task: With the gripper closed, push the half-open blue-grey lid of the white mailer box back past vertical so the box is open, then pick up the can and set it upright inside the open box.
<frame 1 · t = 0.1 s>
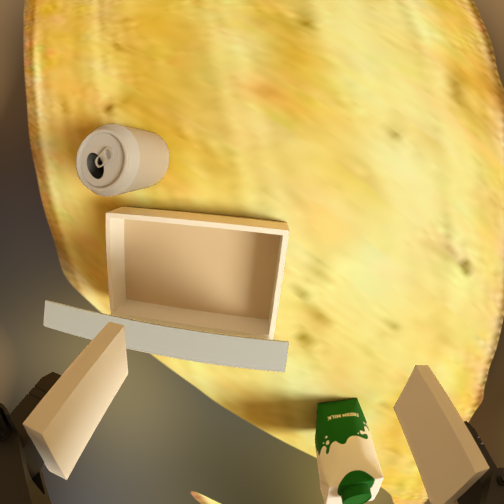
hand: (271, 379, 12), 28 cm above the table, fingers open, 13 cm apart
milk carton: (336, 413, 48), on the table
lid: (171, 329, 30), point 12 cm above the table, hinge at 65.0°
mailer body: (197, 264, 41), on the table
can: (145, 159, 37), on the table
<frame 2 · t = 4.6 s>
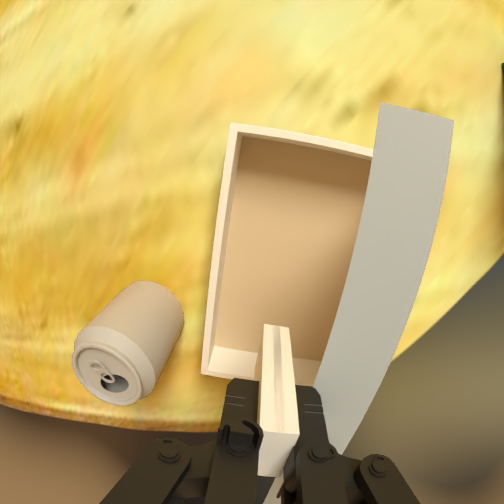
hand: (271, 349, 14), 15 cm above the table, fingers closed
lid: (361, 330, 17), point 12 cm above the table, hinge at 66.8°, touching gripper
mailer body: (294, 260, 29), on the table
can: (153, 309, 31), on the table
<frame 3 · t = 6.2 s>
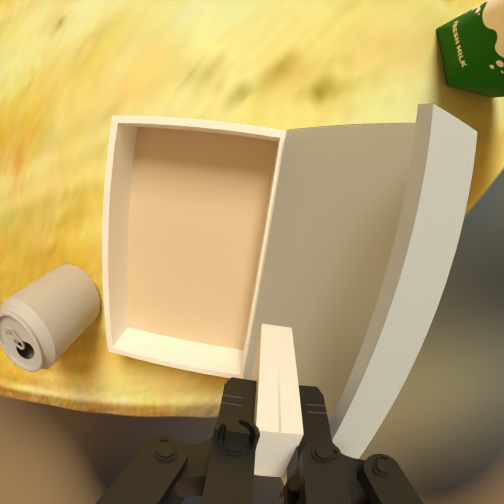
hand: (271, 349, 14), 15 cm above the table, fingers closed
milk carton: (465, 63, 22), on the table
lid: (292, 328, 17), point 13 cm above the table, hinge at 108.4°, touching gripper
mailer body: (192, 243, 29), on the table
can: (78, 291, 31), on the table
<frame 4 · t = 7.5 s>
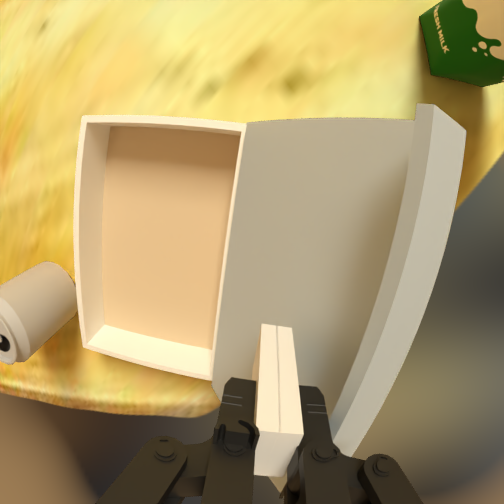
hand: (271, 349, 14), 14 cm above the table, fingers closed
milk carton: (452, 52, 21), on the table
lid: (267, 328, 16), point 12 cm above the table, hinge at 120.7°, touching gripper
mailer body: (163, 241, 28), on the table
can: (59, 288, 31), on the table
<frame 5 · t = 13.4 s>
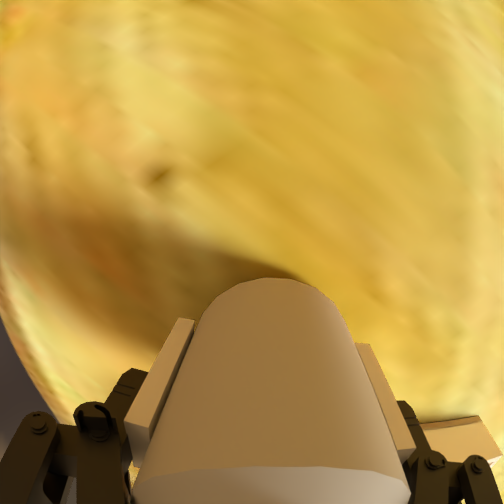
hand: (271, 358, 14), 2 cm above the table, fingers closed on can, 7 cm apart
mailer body: (336, 477, 19), on the table
can: (271, 336, 15), on the table, touching gripper
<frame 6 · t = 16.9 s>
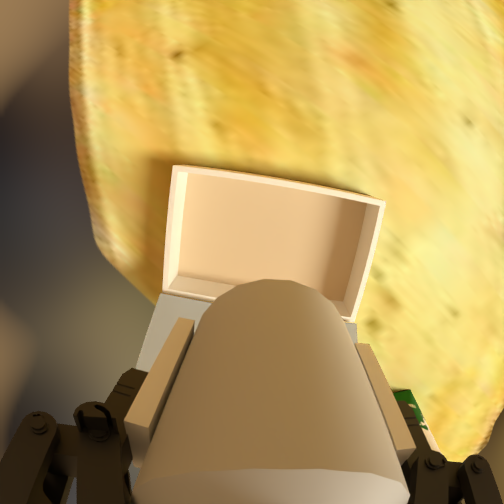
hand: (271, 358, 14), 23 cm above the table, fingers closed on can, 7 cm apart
milk carton: (387, 406, 43), on the table
lid: (251, 373, 27), point 12 cm above the table, hinge at 120.8°
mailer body: (270, 237, 36), on the table
can: (271, 338, 15), point 22 cm above the table, touching gripper
when the fingers open (5 cm above the table, at t = 20.5 s): can drops 3 cm, resting on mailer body.
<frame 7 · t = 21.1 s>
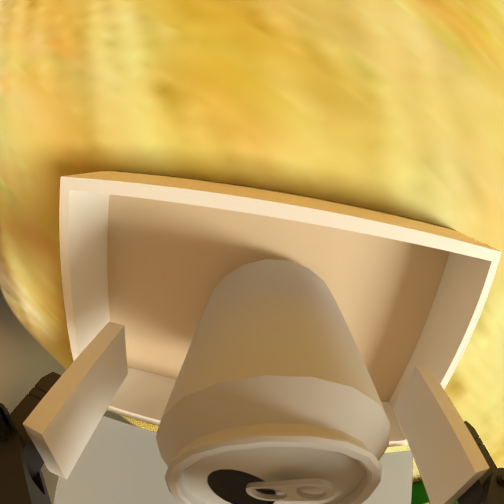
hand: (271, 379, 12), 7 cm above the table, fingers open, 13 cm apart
milk carton: (418, 490, 26), on the table
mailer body: (271, 308, 19), on the table
can: (271, 313, 18), point 1 cm above the table, touching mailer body
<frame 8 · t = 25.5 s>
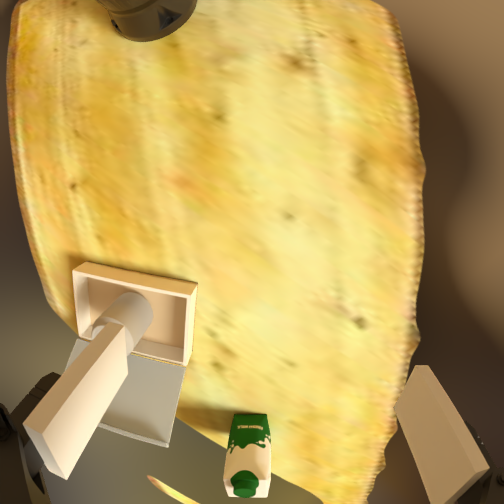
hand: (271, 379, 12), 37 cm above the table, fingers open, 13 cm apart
milk carton: (251, 423, 60), on the table
lid: (114, 389, 44), point 12 cm above the table, hinge at 120.8°
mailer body: (137, 307, 53), on the table
can: (136, 308, 52), point 1 cm above the table, touching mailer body
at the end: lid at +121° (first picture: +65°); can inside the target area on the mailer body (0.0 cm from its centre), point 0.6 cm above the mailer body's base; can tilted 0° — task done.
